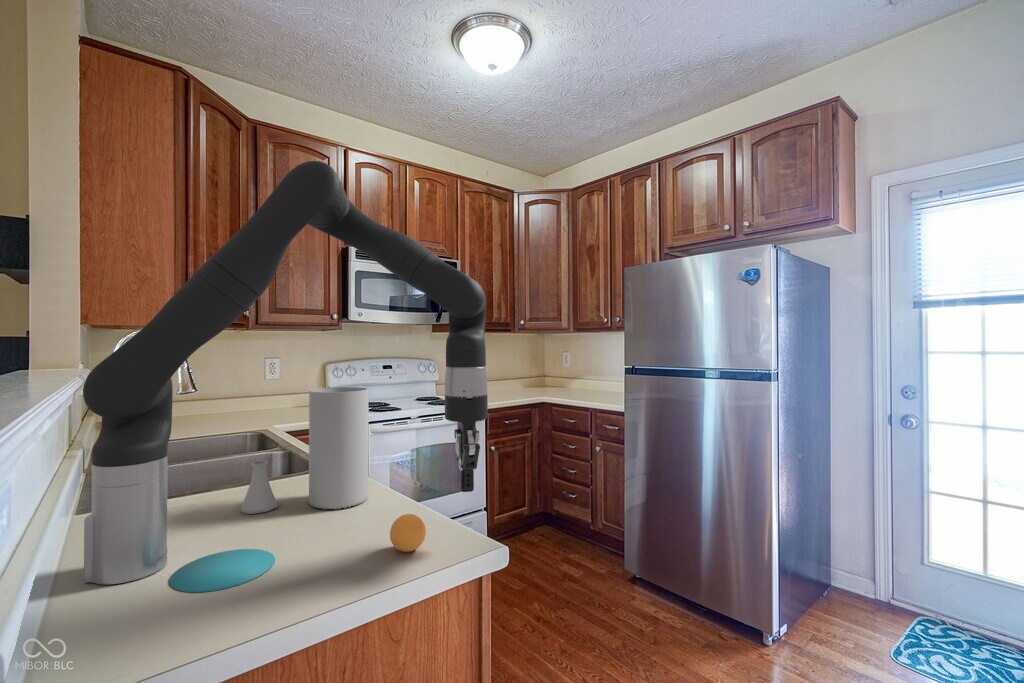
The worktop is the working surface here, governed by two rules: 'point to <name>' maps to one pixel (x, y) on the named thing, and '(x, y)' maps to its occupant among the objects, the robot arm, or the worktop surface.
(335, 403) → the cylinder vase
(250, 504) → the flask
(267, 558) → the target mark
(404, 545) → the ball
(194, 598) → the worktop surface
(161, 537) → the robot arm
